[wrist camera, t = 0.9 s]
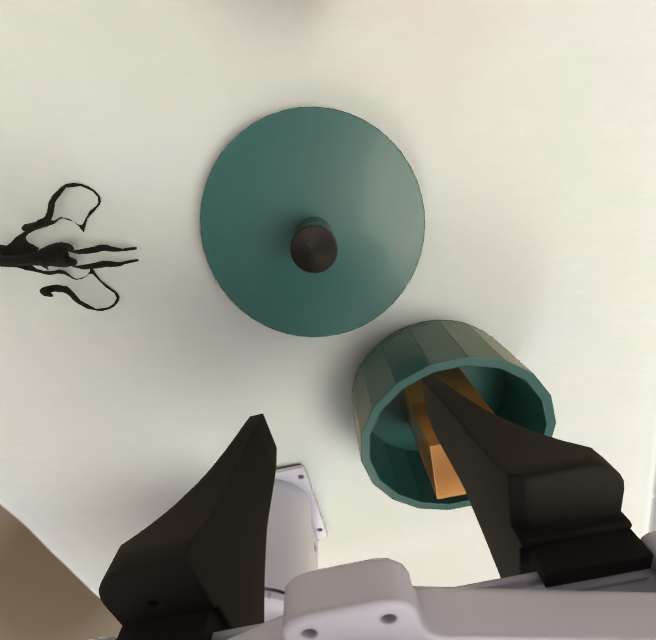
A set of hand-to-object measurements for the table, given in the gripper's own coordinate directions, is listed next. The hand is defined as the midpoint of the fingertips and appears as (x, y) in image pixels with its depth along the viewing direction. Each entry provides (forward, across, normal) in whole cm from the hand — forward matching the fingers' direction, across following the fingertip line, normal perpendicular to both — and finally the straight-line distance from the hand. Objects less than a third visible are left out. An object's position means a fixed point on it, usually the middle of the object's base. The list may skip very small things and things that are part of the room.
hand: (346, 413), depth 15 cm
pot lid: (+9, 0, -6) cm, 11 cm away
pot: (+10, -6, +8) cm, 14 cm away
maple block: (+9, -6, +8) cm, 14 cm away
